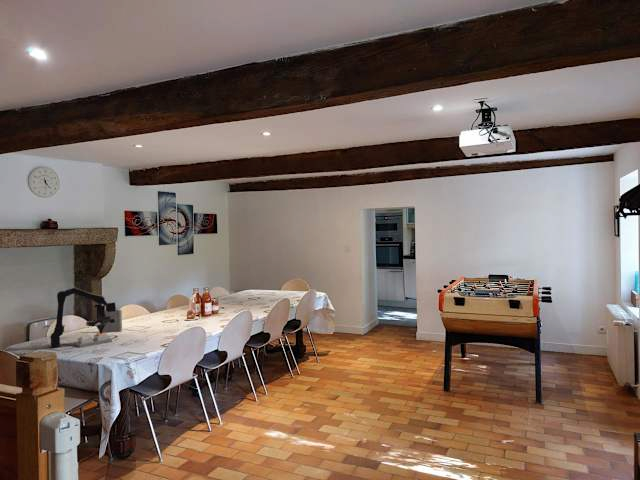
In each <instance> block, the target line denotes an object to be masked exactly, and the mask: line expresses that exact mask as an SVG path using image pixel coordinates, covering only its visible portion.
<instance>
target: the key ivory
mask: <svg viewBox="0 0 640 480" xmlns="http://www.w3.org/2000/svg"><path fill="white" fill-rule="evenodd" d="M90 337H91V335H88V334H86V335H80V337H79V338H81V339H87V338H90Z"/></svg>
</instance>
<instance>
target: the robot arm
mask: <svg viewBox="0 0 640 480" xmlns="http://www.w3.org/2000/svg"><path fill="white" fill-rule="evenodd" d="M73 294H76V295H79V296H82V297H83V298H87V299H89V300H91V301H93V302H95V304H94V305H93V308H96V309H95V311H96V312H95V317H96V318H95V321H94V320H87V321H86V322H85V326H88V327H93V326H95V327H96V328H97V330H98V333H100V334H102V333H103V332H102V331H103V329H104V326H105V325H107V323H108V322H110V323H114V322H115V319H113V318H111V317H110V316H107V317H106V314H105V310H106V311H107V312H114V311H116V310H117V308H116V302H115V301H113V302H107V301H106V299H105V296H103V295H100V294H97V293H91V292H88V291H85V290H84V289H83V290H82V289H80V288H78V287H75V286H74V287H73V288H68V289H65V290H60V291H58V293H56V297H57V298H56V299H57V310H56V311H57V314H56V323H55V327H54V330H53V332H52V333H51V334H50V337H49V338H50V345H49V346H48V347H49V348H51V349H55V348H62V347H63V346H62V344H61V336H63V333H64V332H65V324H63V318H64V307H65V306H64V305H65V301H66V298H67V297H69V296H71V295H73Z"/></svg>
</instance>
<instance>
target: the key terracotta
mask: <svg viewBox="0 0 640 480" xmlns="http://www.w3.org/2000/svg"><path fill="white" fill-rule="evenodd" d="M106 334H107V332H102V334H100V332H97V333H96V334H95V335H96V336H104V335H106Z"/></svg>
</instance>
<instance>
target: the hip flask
mask: <svg viewBox="0 0 640 480" xmlns="http://www.w3.org/2000/svg"><path fill="white" fill-rule="evenodd" d="M105 314H106V317H107V316H110V317H111V318H113V319H115V322H114V323H110V322H108V323H107V325H105V326H104V329H103V331H102V333H114V332H115V333H120V332H123V317H122V316H123V315H122V314H123V311H122V309H116V311H114V312H107V311H106V309H105Z"/></svg>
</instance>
